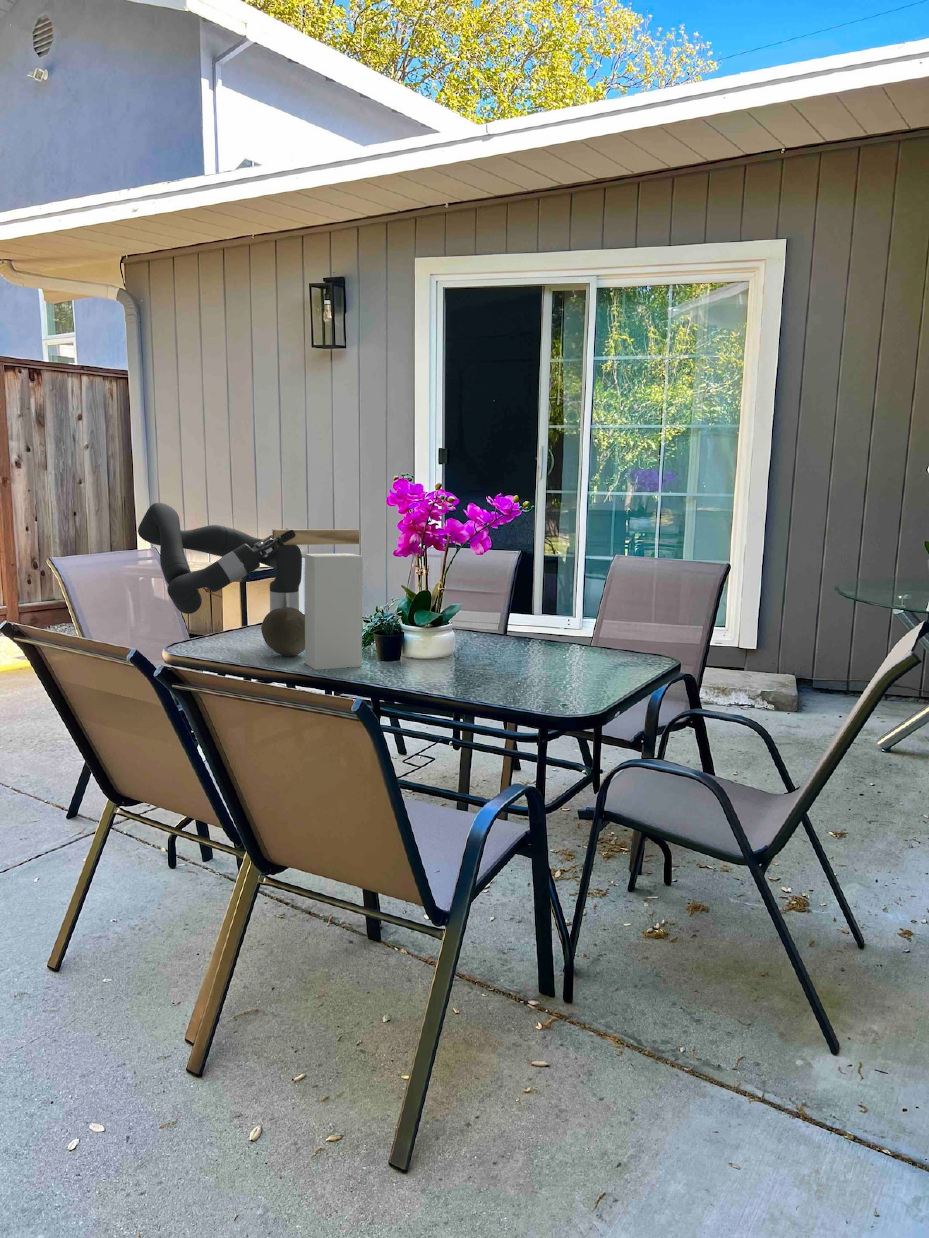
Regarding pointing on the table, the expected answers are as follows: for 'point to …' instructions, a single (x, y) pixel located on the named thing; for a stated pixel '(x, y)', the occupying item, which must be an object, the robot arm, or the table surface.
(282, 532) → the oak slat
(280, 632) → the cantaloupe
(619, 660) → the table surface
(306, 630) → the pedestal
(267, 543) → the robot arm
